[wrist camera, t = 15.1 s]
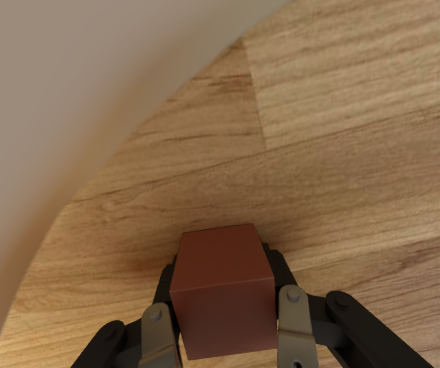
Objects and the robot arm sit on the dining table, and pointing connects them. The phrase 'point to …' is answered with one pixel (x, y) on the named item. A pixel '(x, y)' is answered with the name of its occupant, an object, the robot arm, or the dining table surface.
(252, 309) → the block
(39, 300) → the dining table surface
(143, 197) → the dining table surface
